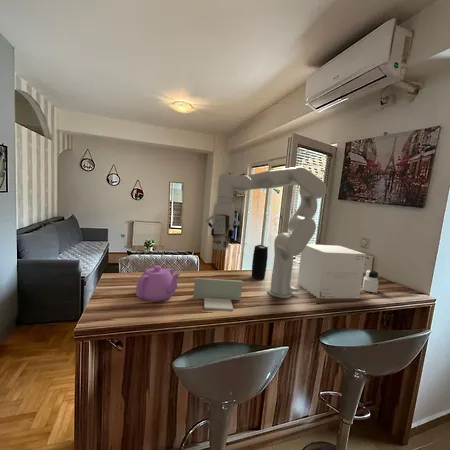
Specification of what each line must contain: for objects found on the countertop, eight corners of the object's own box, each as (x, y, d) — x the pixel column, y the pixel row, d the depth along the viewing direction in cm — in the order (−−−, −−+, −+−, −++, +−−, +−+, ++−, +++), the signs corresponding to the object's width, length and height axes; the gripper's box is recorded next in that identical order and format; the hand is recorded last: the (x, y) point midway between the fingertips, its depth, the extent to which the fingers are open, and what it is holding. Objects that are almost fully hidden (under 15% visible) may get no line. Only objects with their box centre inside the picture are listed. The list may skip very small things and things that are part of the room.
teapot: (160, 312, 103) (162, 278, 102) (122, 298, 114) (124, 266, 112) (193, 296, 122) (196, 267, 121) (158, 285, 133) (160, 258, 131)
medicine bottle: (375, 290, 157) (378, 270, 155) (376, 294, 150) (380, 273, 149) (362, 287, 160) (365, 268, 158) (362, 291, 153) (365, 271, 152)
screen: (240, 299, 124) (242, 280, 123) (240, 300, 123) (242, 281, 122) (193, 296, 122) (194, 277, 121) (193, 297, 121) (194, 278, 120)
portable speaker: (251, 279, 156) (255, 246, 154) (250, 274, 165) (253, 244, 163) (266, 280, 156) (269, 248, 154) (264, 275, 165) (267, 245, 163)
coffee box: (225, 250, 122) (228, 215, 120) (212, 249, 123) (214, 214, 121) (229, 247, 131) (232, 214, 129) (216, 245, 132) (219, 213, 130)
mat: (230, 301, 121) (230, 299, 121) (232, 310, 111) (233, 308, 111) (204, 299, 120) (204, 297, 120) (204, 309, 110) (204, 307, 110)
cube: (317, 299, 135) (324, 252, 132) (297, 284, 156) (302, 243, 153) (359, 299, 141) (366, 254, 138) (334, 285, 161) (339, 245, 159)
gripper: (241, 202, 129) (238, 237, 131) (206, 199, 127) (203, 235, 129) (244, 202, 121) (240, 240, 123) (206, 199, 120) (203, 237, 122)
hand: (221, 237), depth 126 cm, fingers closed on coffee box, 7 cm apart
